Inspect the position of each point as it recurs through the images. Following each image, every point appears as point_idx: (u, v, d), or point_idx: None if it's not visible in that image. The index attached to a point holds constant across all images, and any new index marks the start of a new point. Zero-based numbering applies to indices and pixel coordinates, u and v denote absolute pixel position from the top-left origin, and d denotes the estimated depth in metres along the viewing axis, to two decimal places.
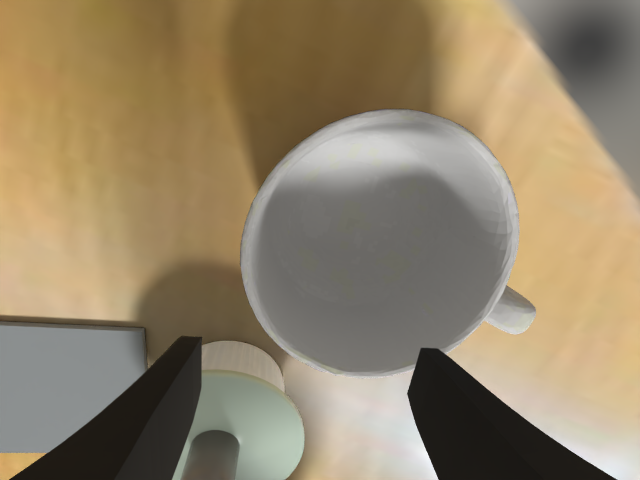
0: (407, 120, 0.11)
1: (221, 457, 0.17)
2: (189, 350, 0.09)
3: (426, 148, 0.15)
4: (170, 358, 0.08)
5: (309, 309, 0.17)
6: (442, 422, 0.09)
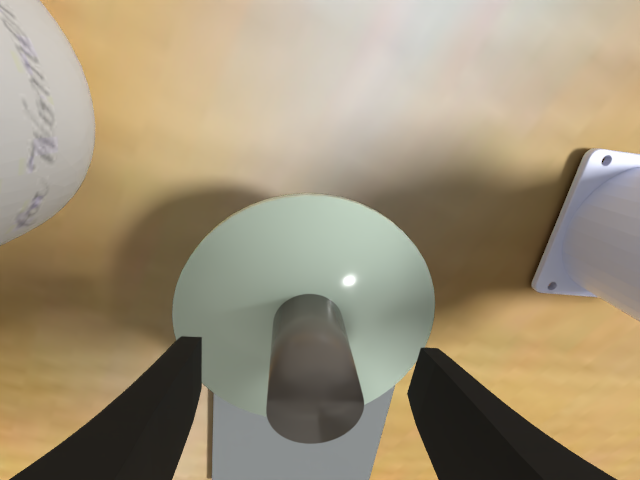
0: None
1: (275, 335, 0.11)
2: (189, 350, 0.09)
3: None
4: (170, 358, 0.08)
5: None
6: (442, 422, 0.09)
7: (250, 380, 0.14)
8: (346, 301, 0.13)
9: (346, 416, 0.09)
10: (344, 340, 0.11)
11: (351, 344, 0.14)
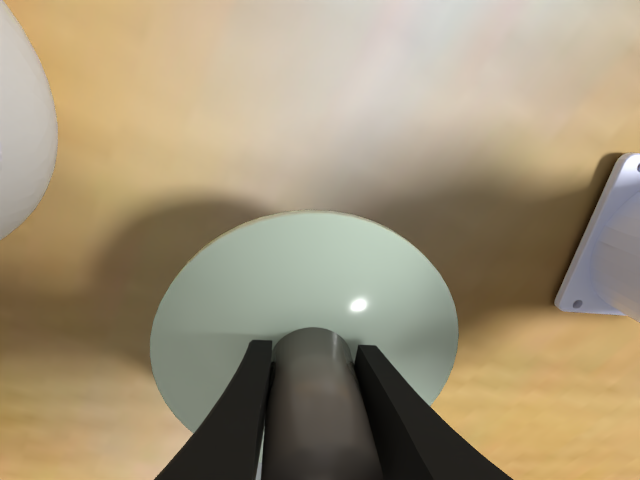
0: None
1: (272, 381, 0.09)
2: (267, 353, 0.09)
3: None
4: (253, 361, 0.09)
5: None
6: (369, 421, 0.09)
7: None
8: (355, 335, 0.11)
9: None
10: (355, 390, 0.09)
11: None
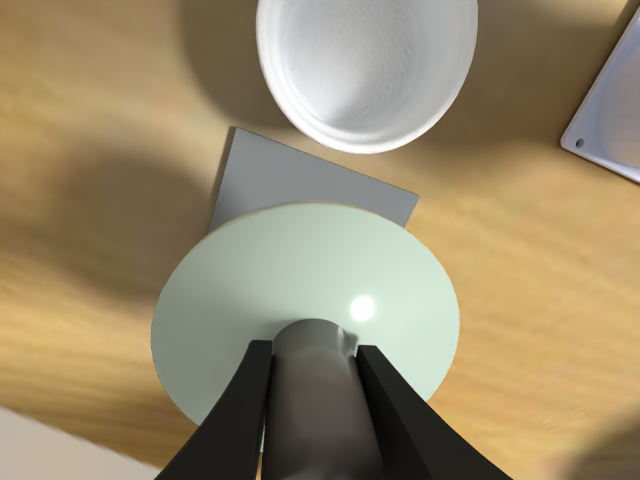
0: None
1: (273, 371, 0.09)
2: (267, 353, 0.09)
3: None
4: (253, 361, 0.09)
5: None
6: None
7: None
8: (356, 327, 0.11)
9: None
10: (356, 381, 0.09)
11: None
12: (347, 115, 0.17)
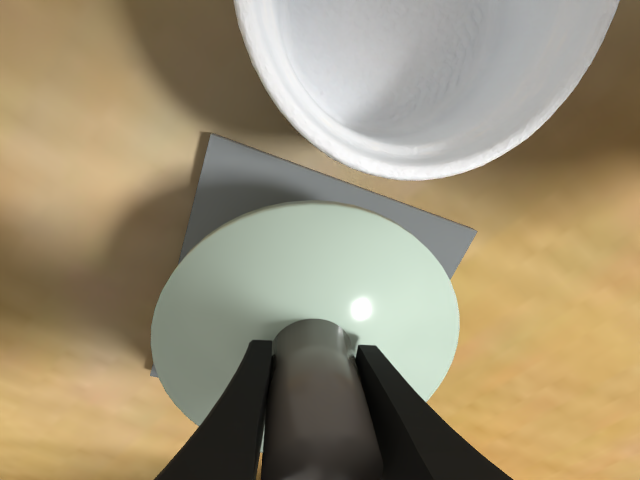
0: None
1: (273, 371, 0.09)
2: (267, 353, 0.09)
3: None
4: (253, 361, 0.09)
5: None
6: None
7: None
8: (356, 327, 0.11)
9: None
10: (356, 381, 0.09)
11: None
12: (379, 115, 0.11)
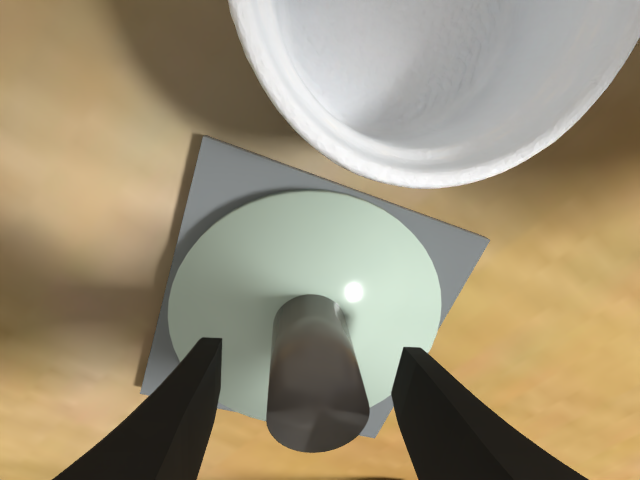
0: None
1: (276, 337, 0.11)
2: (212, 351, 0.09)
3: None
4: (194, 359, 0.08)
5: None
6: (421, 421, 0.09)
7: (248, 383, 0.13)
8: (349, 302, 0.12)
9: (350, 424, 0.09)
10: (348, 343, 0.10)
11: (354, 347, 0.13)
12: (386, 116, 0.10)
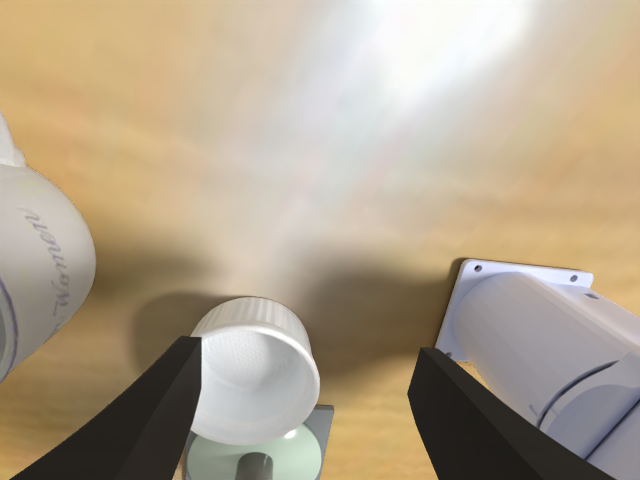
0: None
1: None
2: (189, 350, 0.09)
3: None
4: (170, 358, 0.08)
5: None
6: (442, 422, 0.09)
7: None
8: (271, 452, 0.25)
9: None
10: None
11: (281, 468, 0.26)
12: (260, 382, 0.23)
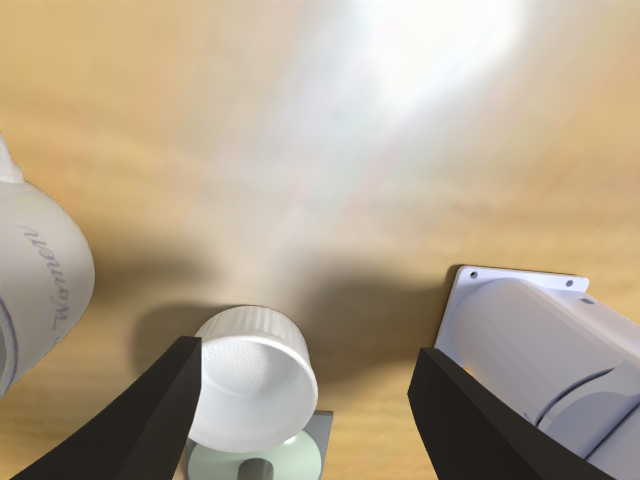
0: None
1: None
2: (189, 350, 0.09)
3: None
4: (170, 358, 0.08)
5: None
6: (442, 422, 0.09)
7: None
8: (271, 457, 0.25)
9: None
10: None
11: (281, 474, 0.26)
12: (259, 389, 0.23)
